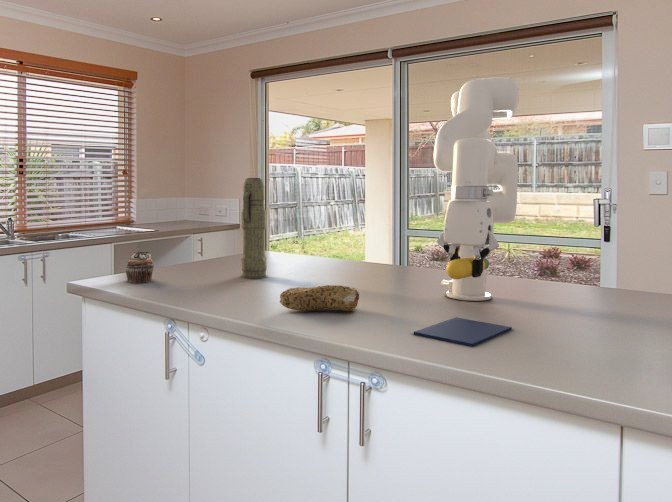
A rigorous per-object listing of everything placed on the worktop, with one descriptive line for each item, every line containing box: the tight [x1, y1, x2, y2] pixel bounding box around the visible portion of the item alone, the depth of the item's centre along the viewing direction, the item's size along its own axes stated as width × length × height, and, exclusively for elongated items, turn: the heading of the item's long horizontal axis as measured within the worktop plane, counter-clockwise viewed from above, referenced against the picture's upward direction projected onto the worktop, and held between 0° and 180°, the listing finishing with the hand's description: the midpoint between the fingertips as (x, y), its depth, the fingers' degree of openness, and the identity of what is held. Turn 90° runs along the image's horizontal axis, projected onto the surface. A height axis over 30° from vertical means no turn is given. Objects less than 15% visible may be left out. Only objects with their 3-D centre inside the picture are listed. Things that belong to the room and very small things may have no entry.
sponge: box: [279, 284, 360, 312], centre depth 159 cm, size 13×8×20 cm
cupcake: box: [124, 251, 155, 284], centre depth 203 cm, size 10×10×10 cm
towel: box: [413, 317, 513, 347], centre depth 137 cm, size 14×20×1 cm
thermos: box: [240, 177, 268, 279], centre depth 211 cm, size 9×12×35 cm
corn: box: [445, 256, 490, 279], centre depth 136 cm, size 16×4×4 cm, turn 136°
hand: (465, 274), depth 135 cm, fingers closed on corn, 4 cm apart
